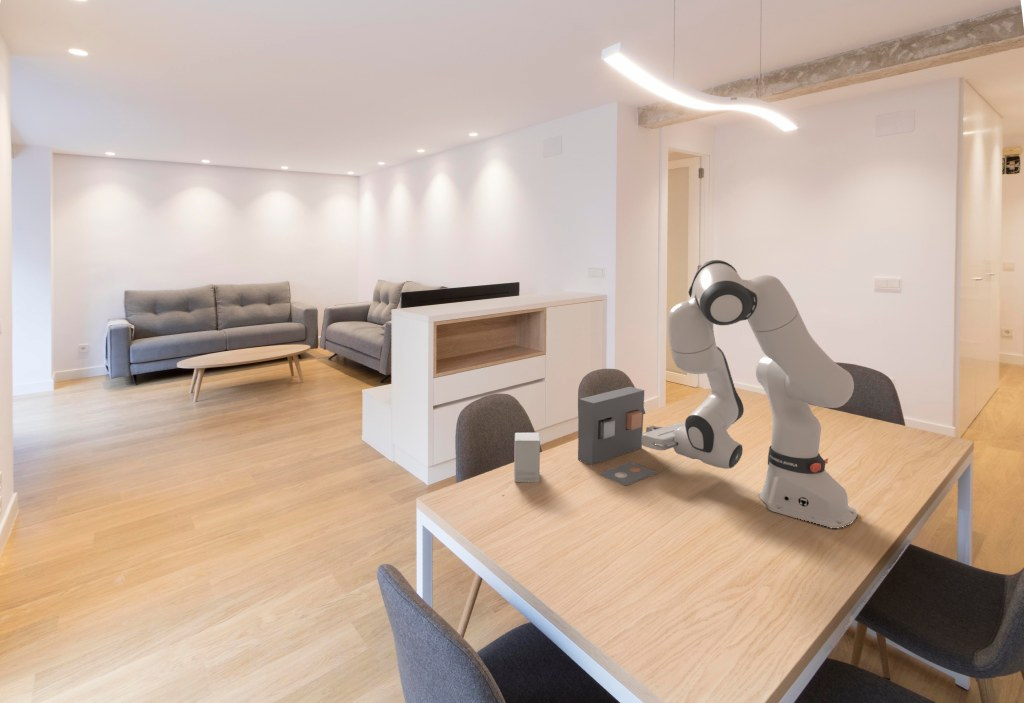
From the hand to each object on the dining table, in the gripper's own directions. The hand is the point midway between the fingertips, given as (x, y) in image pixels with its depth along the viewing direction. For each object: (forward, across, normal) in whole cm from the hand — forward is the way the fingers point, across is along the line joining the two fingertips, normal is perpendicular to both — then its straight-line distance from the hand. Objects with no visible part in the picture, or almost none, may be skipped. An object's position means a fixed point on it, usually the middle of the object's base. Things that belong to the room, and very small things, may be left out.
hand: (649, 428), depth 172 cm
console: (+11, -5, -10) cm, 16 cm away
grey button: (+7, -12, -2) cm, 14 cm away
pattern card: (-3, -13, -11) cm, 17 cm away
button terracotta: (+8, +1, -2) cm, 8 cm away
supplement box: (+14, -38, -11) cm, 42 cm away
